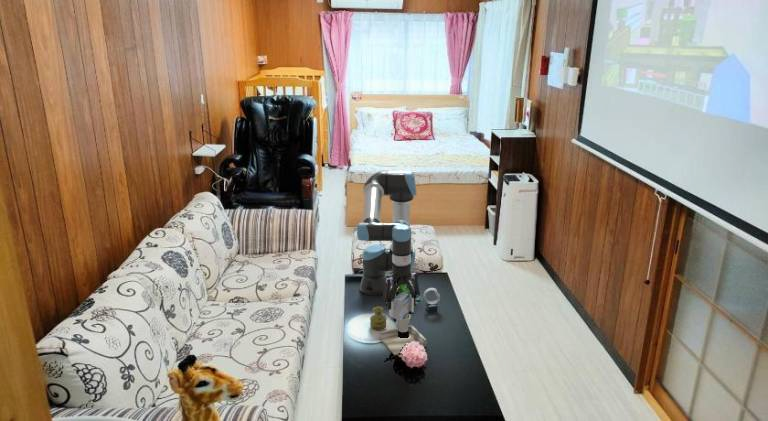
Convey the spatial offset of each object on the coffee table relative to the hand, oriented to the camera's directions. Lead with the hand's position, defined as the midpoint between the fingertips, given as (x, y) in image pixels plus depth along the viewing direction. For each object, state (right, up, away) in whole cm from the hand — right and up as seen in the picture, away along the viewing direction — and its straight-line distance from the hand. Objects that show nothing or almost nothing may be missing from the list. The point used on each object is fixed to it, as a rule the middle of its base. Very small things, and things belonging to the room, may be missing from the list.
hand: (401, 313), depth 218 cm
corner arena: (+1, -14, +6) cm, 15 cm away
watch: (+16, -5, +35) cm, 38 cm away
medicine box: (0, -1, 0) cm, 1 cm away
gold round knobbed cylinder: (-10, -10, +19) cm, 24 cm away
